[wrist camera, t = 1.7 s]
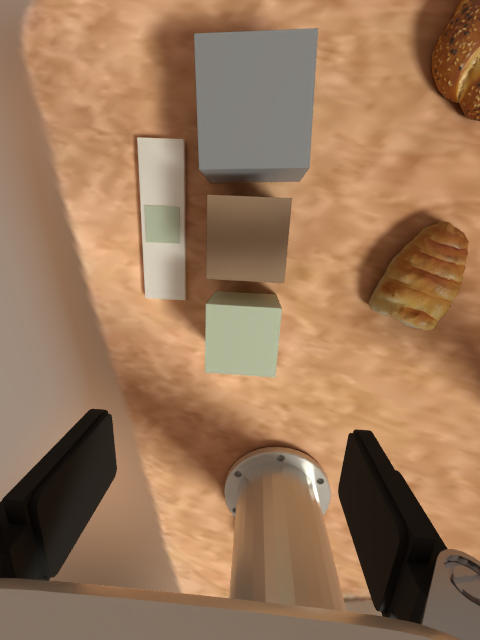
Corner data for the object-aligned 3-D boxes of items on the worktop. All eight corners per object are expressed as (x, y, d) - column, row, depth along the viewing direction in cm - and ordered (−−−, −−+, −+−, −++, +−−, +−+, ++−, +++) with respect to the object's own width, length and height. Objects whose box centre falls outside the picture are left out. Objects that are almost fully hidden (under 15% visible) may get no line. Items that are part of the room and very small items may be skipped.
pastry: (408, 212, 25) (434, 207, 21) (475, 238, 25) (513, 238, 21) (360, 307, 27) (376, 318, 24) (421, 330, 28) (447, 343, 24)
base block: (299, 182, 25) (309, 167, 20) (210, 183, 25) (199, 169, 20) (304, 73, 22) (318, 28, 18) (207, 77, 23) (194, 33, 18)
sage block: (271, 350, 29) (275, 377, 23) (214, 346, 29) (204, 372, 24) (276, 294, 27) (281, 308, 22) (216, 290, 28) (205, 303, 22)
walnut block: (278, 273, 27) (284, 283, 21) (216, 270, 27) (206, 279, 21) (283, 207, 25) (291, 198, 19) (218, 204, 25) (207, 194, 20)
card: (186, 299, 28) (184, 300, 27) (147, 296, 28) (144, 298, 27) (185, 141, 24) (183, 138, 23) (140, 139, 24) (136, 136, 23)
